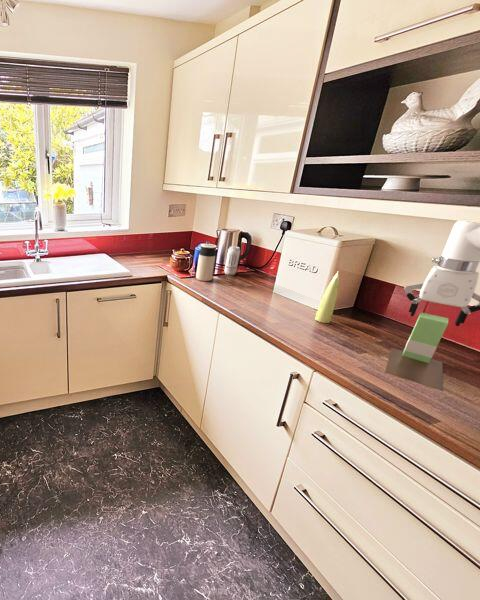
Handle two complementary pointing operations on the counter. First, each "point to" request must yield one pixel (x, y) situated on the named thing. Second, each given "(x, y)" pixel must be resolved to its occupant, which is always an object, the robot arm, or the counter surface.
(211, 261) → the travel mug
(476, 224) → the robot arm
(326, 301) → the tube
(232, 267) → the white bottle
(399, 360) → the stand
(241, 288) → the counter surface
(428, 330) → the block
